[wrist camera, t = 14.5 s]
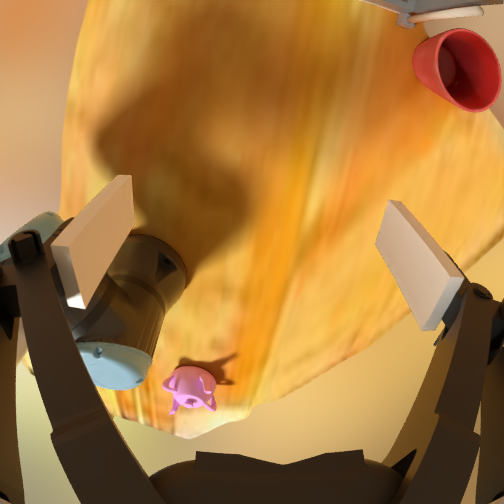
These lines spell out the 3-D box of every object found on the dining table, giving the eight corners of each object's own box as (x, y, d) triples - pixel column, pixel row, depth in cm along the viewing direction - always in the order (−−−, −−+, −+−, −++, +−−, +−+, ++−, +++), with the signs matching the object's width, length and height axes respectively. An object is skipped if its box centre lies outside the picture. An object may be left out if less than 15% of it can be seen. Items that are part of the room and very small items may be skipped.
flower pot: (432, 17, 29) (469, 12, 20) (473, 74, 32) (513, 84, 24) (387, 56, 33) (419, 57, 25) (433, 113, 37) (469, 129, 29)
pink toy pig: (175, 387, 77) (169, 415, 69) (165, 357, 69) (157, 388, 62) (219, 391, 77) (216, 420, 69) (215, 361, 69) (211, 393, 61)
